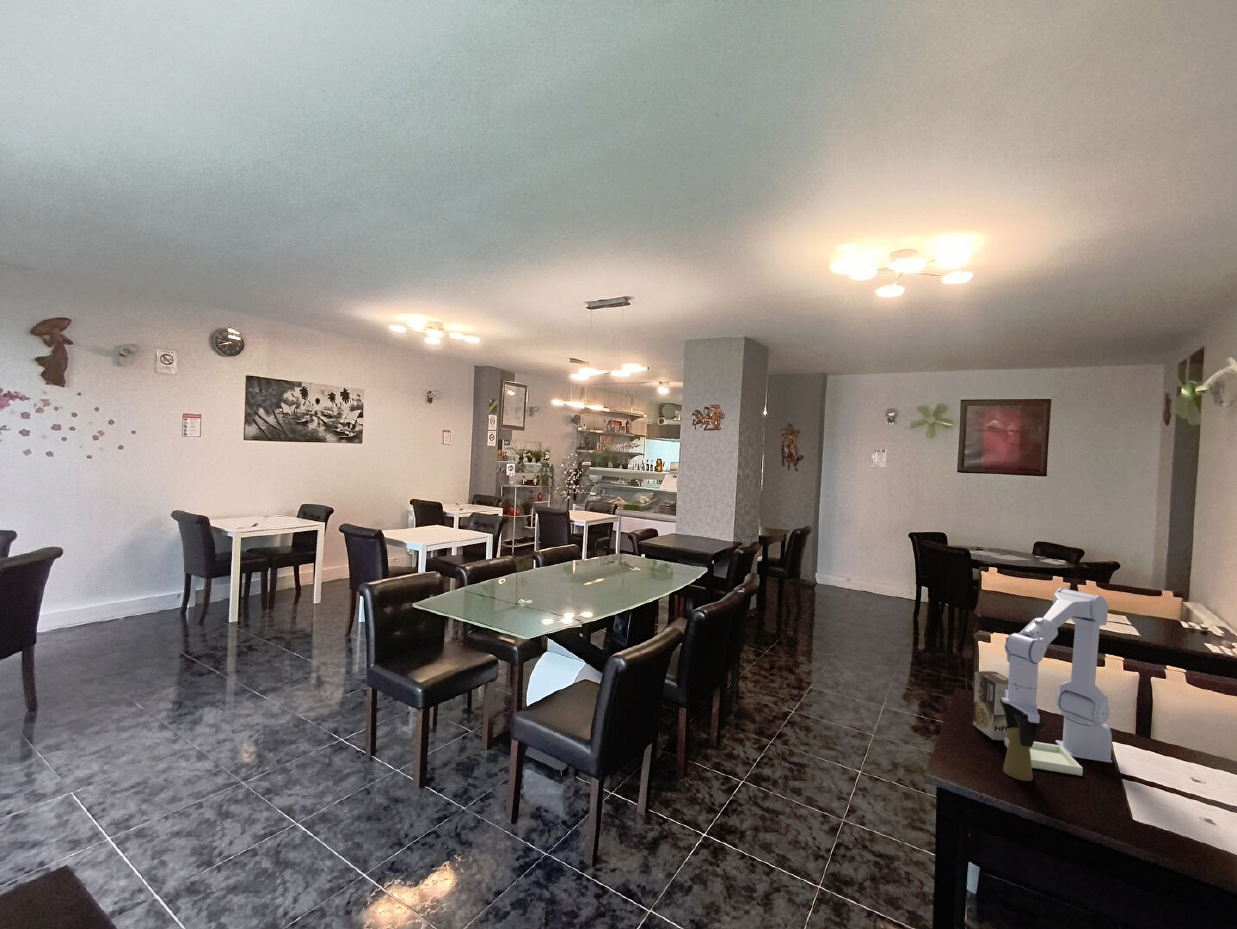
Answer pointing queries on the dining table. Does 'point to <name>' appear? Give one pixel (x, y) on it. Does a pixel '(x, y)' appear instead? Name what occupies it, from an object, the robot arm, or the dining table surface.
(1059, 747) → the tray
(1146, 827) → the dining table surface
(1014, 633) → the robot arm
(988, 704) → the coffee box
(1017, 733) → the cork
